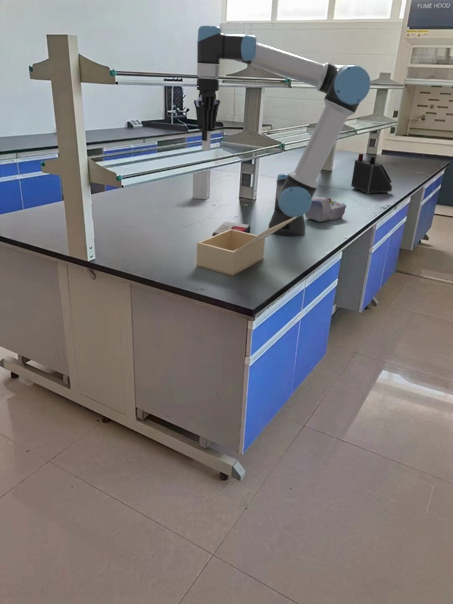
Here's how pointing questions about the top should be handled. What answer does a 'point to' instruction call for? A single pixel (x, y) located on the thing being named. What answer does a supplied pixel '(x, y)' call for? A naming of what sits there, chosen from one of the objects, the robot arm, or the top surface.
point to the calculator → (233, 226)
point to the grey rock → (325, 209)
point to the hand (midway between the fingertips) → (206, 149)
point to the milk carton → (201, 184)
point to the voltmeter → (370, 176)
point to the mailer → (229, 252)
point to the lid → (265, 234)
